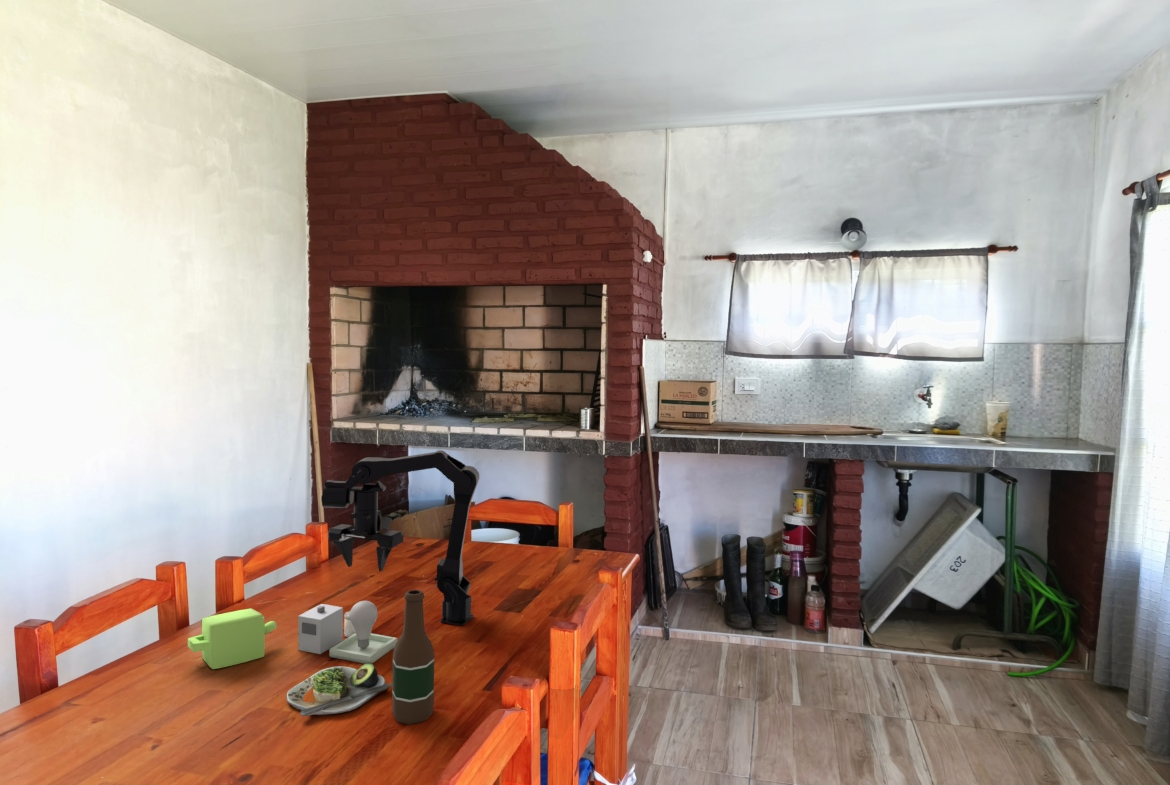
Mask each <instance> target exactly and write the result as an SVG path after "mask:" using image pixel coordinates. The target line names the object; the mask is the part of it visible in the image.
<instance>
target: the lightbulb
mask: <svg viewBox="0 0 1170 785" xmlns="http://www.w3.org/2000/svg"><path fill="white" fill-rule="evenodd" d="M349 611H350V621H351V623H352V625H353V626H354V628H355V630H356V637H357V640H358V641H357V642H358V647H360V648H361V649H365V648H366V647H368V646H369V640H370V636H371V633H372V630H373V626H374V625H375V623H376V621H377V619H378V615H379V614H378V613H379V612H378V609H377V606H376V605H375V604H374V603H373V602H371V601H369V600H360V601H358V602H356V603H355V604H354V605H353V606H352V607H351V609H350V610H349Z"/></svg>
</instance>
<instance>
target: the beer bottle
mask: <svg viewBox="0 0 1170 785" xmlns="http://www.w3.org/2000/svg"><path fill="white" fill-rule="evenodd" d="M403 598H404V599H405V602H404V603H405V607H404V616H403V617H404V618H403V628H402V633H401V635H400V636H399V638H397V642H396V645H395V647H394V648H393V651H392V685H391V687H392V689H391V690H392V692H391V693H392V700H391V703H392V704H391V705H392V715H393V716H394V719H395V720H396V722H397V723H401V724H406V725H410V726H411V725H414V724H420V723H423V722H425V721H426V720H427V719H429V717H431V715H433V714H434V713H433V712H434V704H435V702H434V701H435V700H434V699H435V698H434V697H435V695H434V694H435V651H434V650H435V649H434V646H433V643H432V641H431V639H430V638H429V637H428V635H427V633H426V629H425V619H424V618H425V617H424V616H425V615H424V613H425V612H424V599H425V593H424V592H423V591H422V590H421V589H411V590H408V591H407V592H405V593H404V595H403Z"/></svg>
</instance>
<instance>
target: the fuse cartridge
mask: <svg viewBox="0 0 1170 785" xmlns="http://www.w3.org/2000/svg"><path fill="white" fill-rule="evenodd" d="M350 611H351V610H349V611H345V613H343V619H344V628H343V636H344V637H346V638H348V637H350V636H351V635H353V634H355V633H356V630H355V628H354V626H353V625H352V623H351V621H350Z"/></svg>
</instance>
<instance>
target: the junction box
mask: <svg viewBox="0 0 1170 785" xmlns="http://www.w3.org/2000/svg"><path fill="white" fill-rule="evenodd" d="M297 618H298V621H297V622H298V623H297V624H298V625H297V626H298V630H297V631H298V633H297V635H298V636H297V637H298V638H297V639H298V640H297V641H298V642H297V644H298V651H302V652H306V653H307V652H308V653H313V654H317V655H322V654H323V653H324V652H327V651H329V650H330V648H332V647H334V646H335V645H337V644H338V643H340V642H342V641H343V640H344V638H343V636H344V607H343V606H338V605H337V606H336V605H331V604H323V603H321V604H318V605H317V606H315V607H313V608H311V609H309V610H306V611H305V612H303V613H301V614H300V615H298V616H297Z"/></svg>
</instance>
